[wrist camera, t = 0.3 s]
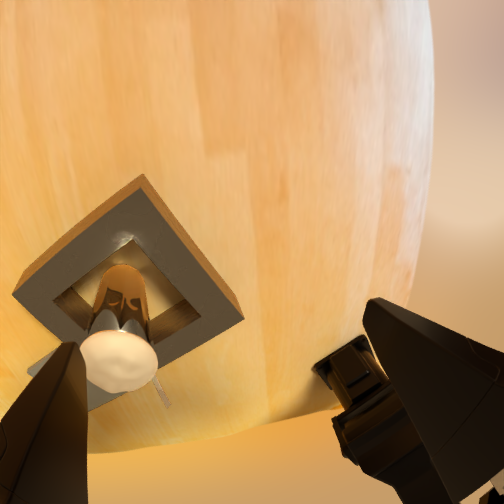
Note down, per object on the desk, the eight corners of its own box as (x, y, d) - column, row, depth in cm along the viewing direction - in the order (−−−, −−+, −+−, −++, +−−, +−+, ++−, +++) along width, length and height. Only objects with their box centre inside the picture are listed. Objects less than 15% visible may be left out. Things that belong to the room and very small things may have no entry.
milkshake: (144, 319, 25) (151, 425, 16) (84, 291, 22) (64, 398, 14) (173, 277, 24) (190, 384, 15) (109, 244, 21) (90, 348, 13)
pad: (137, 382, 28) (137, 386, 28) (85, 409, 28) (85, 413, 28) (76, 334, 24) (75, 338, 23) (27, 369, 24) (26, 372, 24)
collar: (235, 295, 26) (244, 319, 23) (123, 362, 26) (123, 387, 24) (142, 173, 19) (140, 187, 17) (23, 271, 20) (11, 294, 17)
